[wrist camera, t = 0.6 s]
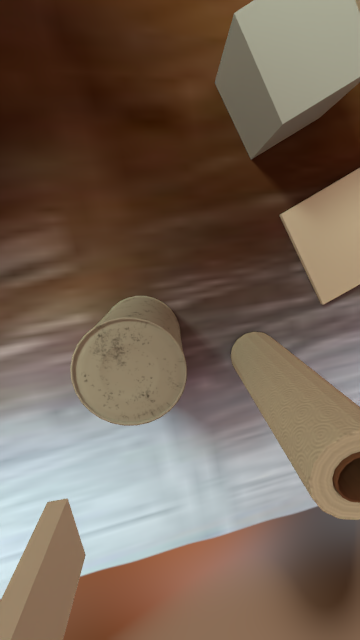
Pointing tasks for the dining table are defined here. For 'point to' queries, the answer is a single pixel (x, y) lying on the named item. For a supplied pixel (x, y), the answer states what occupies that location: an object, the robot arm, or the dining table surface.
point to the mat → (328, 236)
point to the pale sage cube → (287, 66)
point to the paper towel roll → (305, 421)
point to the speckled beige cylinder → (131, 363)
